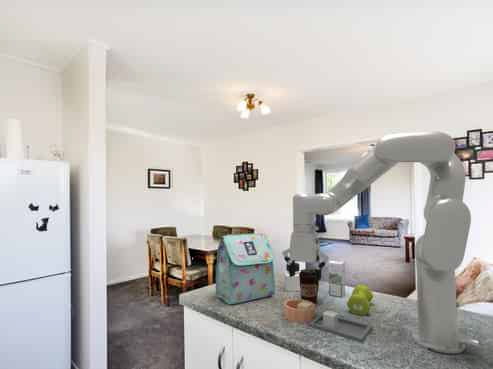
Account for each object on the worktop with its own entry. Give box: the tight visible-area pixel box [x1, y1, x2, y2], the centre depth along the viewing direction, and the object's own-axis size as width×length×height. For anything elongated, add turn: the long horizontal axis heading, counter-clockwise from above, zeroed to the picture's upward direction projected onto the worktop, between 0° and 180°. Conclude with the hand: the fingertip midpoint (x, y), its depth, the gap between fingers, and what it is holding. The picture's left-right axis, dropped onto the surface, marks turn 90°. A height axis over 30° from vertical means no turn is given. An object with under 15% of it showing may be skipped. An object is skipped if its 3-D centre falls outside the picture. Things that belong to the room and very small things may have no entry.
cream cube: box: [297, 302, 312, 310], centre depth 99 cm, size 4×4×4 cm
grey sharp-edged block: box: [323, 310, 339, 330], centre depth 90 cm, size 4×4×4 cm
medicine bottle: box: [283, 261, 301, 292], centre depth 132 cm, size 7×7×12 cm
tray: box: [308, 312, 373, 343], centre depth 91 cm, size 16×11×2 cm, turn 52°
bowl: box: [283, 298, 316, 324], centre depth 100 cm, size 10×10×4 cm
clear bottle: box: [328, 259, 346, 298], centre depth 124 cm, size 6×6×14 cm
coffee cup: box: [299, 268, 320, 306], centre depth 114 cm, size 9×8×13 cm
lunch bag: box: [215, 233, 276, 306], centre depth 122 cm, size 23×16×27 cm
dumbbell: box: [346, 284, 374, 316], centre depth 108 cm, size 16×8×7 cm, turn 151°
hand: (304, 278), depth 99 cm, fingers open, 9 cm apart
